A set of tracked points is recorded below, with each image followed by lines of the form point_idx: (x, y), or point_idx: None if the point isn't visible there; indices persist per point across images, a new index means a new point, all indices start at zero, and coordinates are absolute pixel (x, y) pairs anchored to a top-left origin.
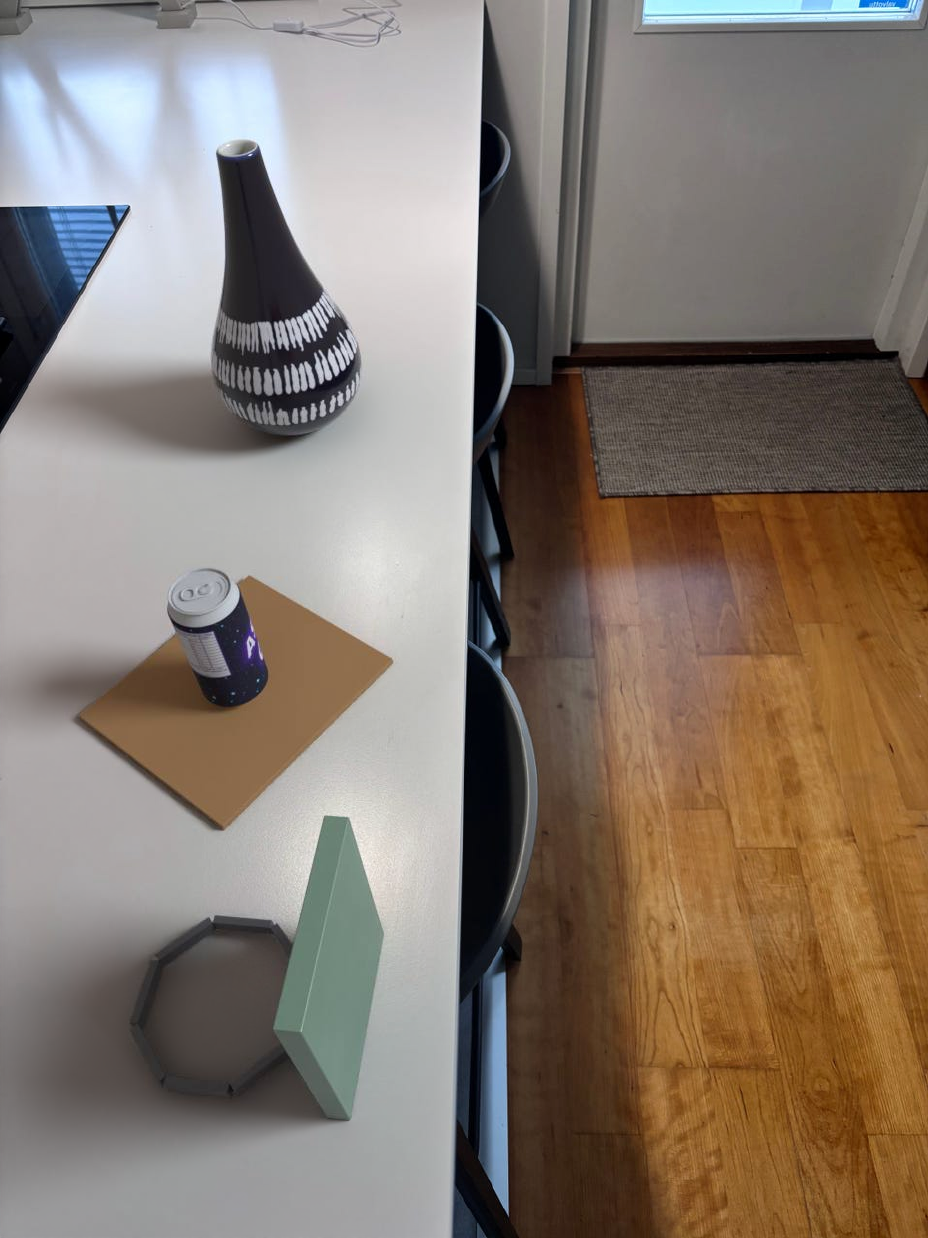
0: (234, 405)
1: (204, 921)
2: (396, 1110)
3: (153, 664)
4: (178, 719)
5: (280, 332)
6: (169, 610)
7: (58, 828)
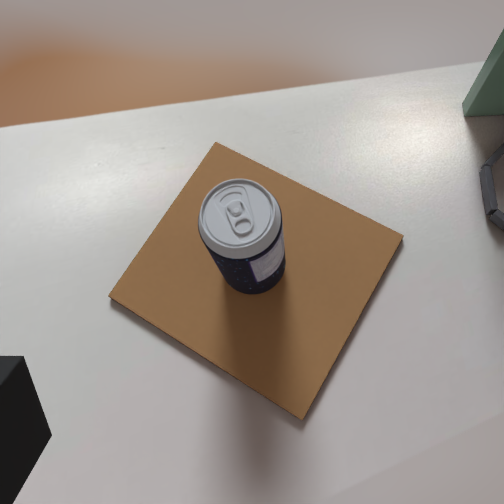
0: None
1: (498, 215)
2: None
3: (231, 359)
4: (297, 310)
5: None
6: (260, 248)
7: (428, 391)
